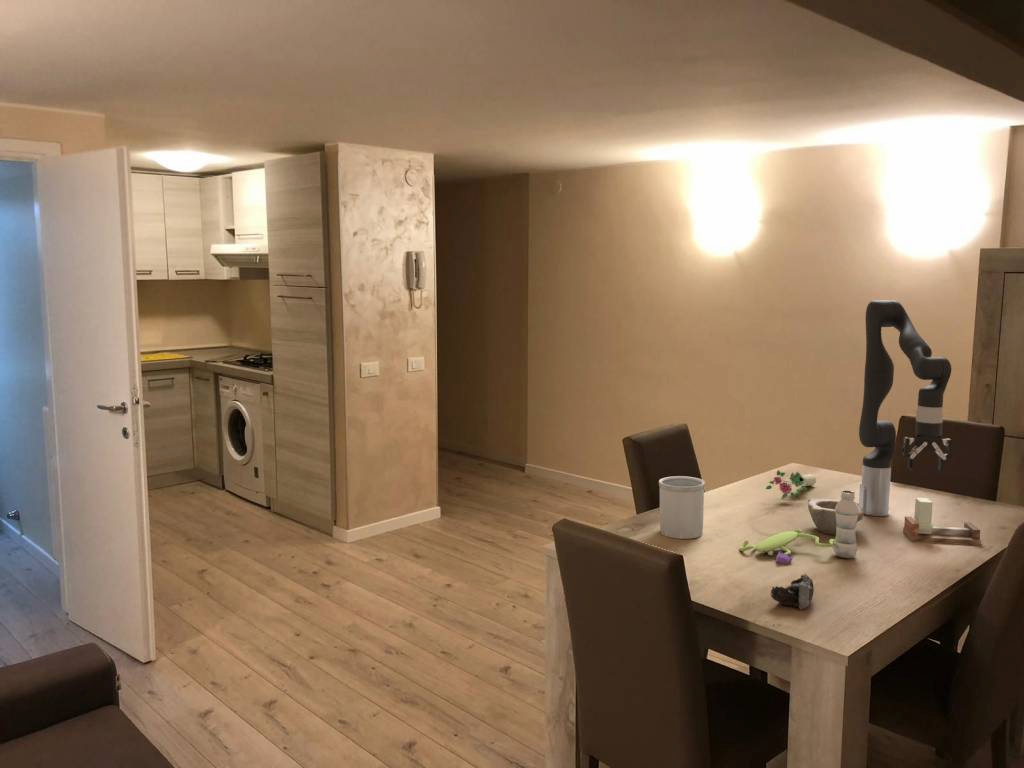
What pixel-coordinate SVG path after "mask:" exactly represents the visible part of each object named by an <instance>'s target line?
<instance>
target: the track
mask: <svg viewBox="0 0 1024 768" xmlns="http://www.w3.org/2000/svg"><path fill="white" fill-rule="evenodd" d="M913 518H914V517H913V516H904V523H903V524H904V526H903V527H902V532H903V534H904V535H905V536H906V537H907V538H908V539H909V540H910V541H911V542H915V543H933V544H935V543H936V544H954V545H956V544H957V545H959V544H960V545H972V546H973V545H975V546H981V544H982V539H981V529H980V528H979V527H977V525H975V524H973V523H972V522H968V521H966V522H965V521H964V523H963V527H953V526H951V527H950V526H934V525H933V529H932V530H931V534H922V533H918V529H919V524H918V523H917V522H916V521H915V520H914V519H913Z"/></svg>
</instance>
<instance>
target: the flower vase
mask: <svg viewBox="0 0 1024 768" xmlns="http://www.w3.org/2000/svg"><path fill="white" fill-rule="evenodd" d="M785 474H786V472H783V471H782V472H781V471H780V470H779V469H778V470H777V471H776V476H775V477H773V480H771V481H769V482H768V483H769V484H771V485H767V486H766V487H765V490H772V488H773V487H774V486H776V485H777V486H778V485H779V491H781V493H782V495H781V499H785V498H786V497H788V495H790V496H791V498H793V499H795V500H796V495H795V492H792V489H793V488H792V486H795V488H796V493H797V495H798V496H800V494H801V490H803V491H807V490H808V489H807V486H808V487H813V486H815V484H816V483H817V478H816V476H815V475H814V474H812V473H808V474H805V475H804V474H801V473H800V472H799V471H796V472H795V473H794V472H791V474H790V476H789V478H788V479H789V480H790V481H787V480H783V479H782V478H781V477H784V476H785Z"/></svg>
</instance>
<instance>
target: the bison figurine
mask: <svg viewBox="0 0 1024 768" xmlns="http://www.w3.org/2000/svg"><path fill="white" fill-rule="evenodd" d="M771 588H772V589H771V590H770V596H771V598H772V600H774V601H776V602H778V603H779V604H781V605H783V606H792V607H793V606H794V607H798V608H799V610H804V609H806V608H807V607H808V606H809V605H810V604H811V603H812V600H813V597H814V592H815V587H814V582H813V579H812V578H811V577H810V576H809V575H807V574H806V573H803V574H801V575H800V577H799V578H797V579H794V580H792V581H791V582H790V585H788V586H786V587H783V586H782V585H781V586H777V585H776V586H775V587H774V586H772V587H771Z"/></svg>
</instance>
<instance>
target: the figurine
mask: <svg viewBox="0 0 1024 768" xmlns="http://www.w3.org/2000/svg"><path fill="white" fill-rule="evenodd" d="M797 538H805V539H811V540H814V544H815V546H817V547H820V548H827V547H828V548H830V547H832V546H834V541H835V538H830V539H829V540H828V543H821V542H819V541H820V537H818V536H816V535H813V534H808V533H803V530H801V529H795V530H792V531H789V530H786V531H784V532H780V533H776V534H774V535H772V536H769V537H767V538H765V539H764V540H762V541H760V542H759V543H757V544H749V541H748V540H745V541H744V542H743V543H742V544H741V545H740V546H739V547H738V550H739V551H740V552H745V551H750V550H751V549H755V550H756V551H757V552H760V553H761V554H766V553H767V555H769V556H770V557H771V556H773V555H774V552H775V550H776V549H781V550H779V551H778V553H777V555H776V556H775V557H776V558H775V562H777V563H778V564H785V565H786V564H790V563H791V562H792V561H793V558H794V557H793V556H792V554H791V553H792V551H791V550H790V549H788V548H787V547H786V546H787V545H788V544H790V543H792V542H794V541H795V540H796V539H797Z"/></svg>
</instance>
